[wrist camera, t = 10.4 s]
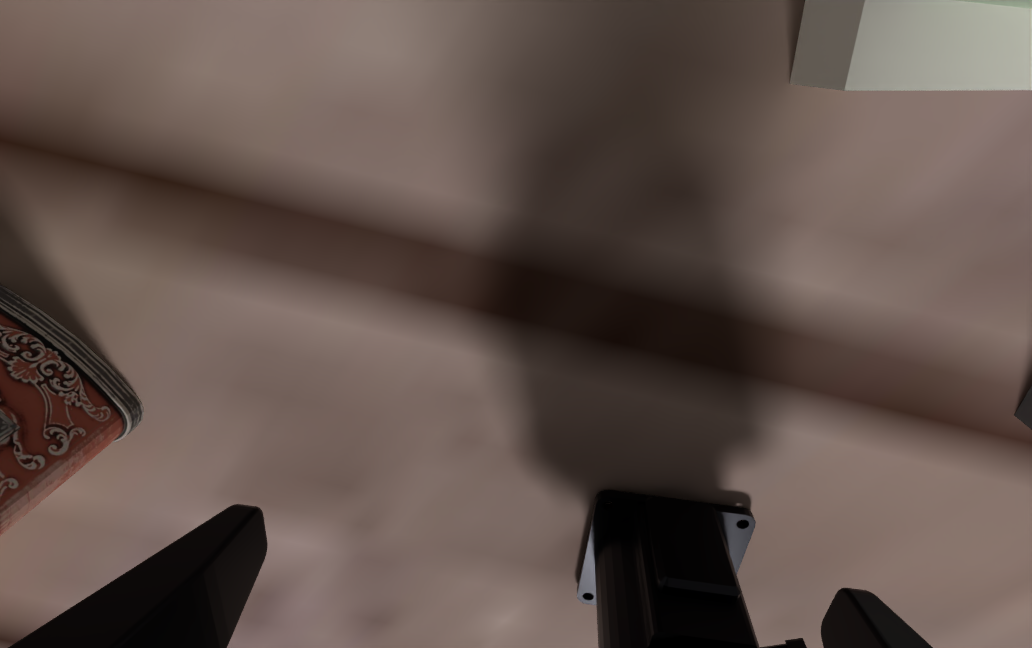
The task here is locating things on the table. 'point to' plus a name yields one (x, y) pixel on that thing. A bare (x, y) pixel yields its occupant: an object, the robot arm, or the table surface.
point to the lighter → (51, 406)
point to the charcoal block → (1026, 410)
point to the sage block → (1005, 2)
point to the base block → (913, 46)
